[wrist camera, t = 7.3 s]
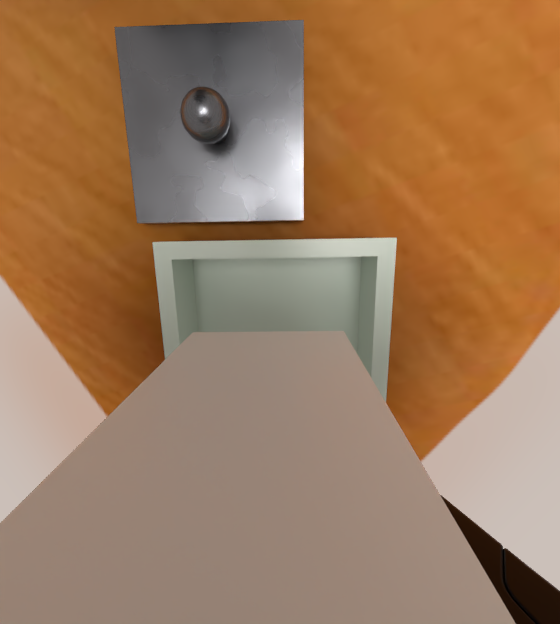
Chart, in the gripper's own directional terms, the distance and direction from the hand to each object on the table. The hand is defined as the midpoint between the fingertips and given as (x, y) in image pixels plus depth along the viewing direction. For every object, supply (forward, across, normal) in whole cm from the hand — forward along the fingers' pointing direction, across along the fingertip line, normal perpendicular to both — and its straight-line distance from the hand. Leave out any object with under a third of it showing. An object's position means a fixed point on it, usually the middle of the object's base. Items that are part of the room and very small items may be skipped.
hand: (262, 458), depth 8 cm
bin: (+12, 0, 0) cm, 12 cm away
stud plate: (+12, +3, -11) cm, 16 cm away
